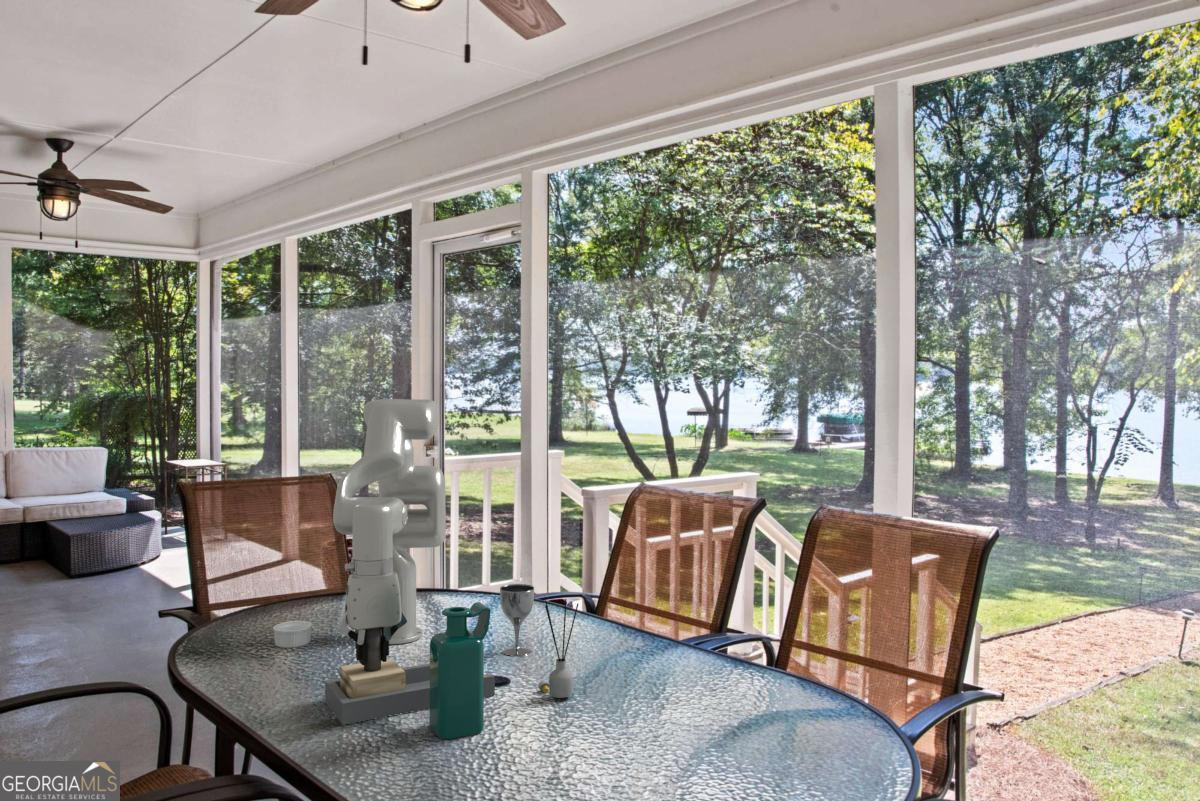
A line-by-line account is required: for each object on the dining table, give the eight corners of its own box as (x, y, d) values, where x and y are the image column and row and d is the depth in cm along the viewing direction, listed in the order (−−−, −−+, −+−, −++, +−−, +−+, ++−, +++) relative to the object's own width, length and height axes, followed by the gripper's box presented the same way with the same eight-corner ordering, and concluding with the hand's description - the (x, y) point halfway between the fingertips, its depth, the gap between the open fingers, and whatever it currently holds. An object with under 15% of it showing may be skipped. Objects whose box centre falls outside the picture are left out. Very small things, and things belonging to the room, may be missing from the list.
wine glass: (536, 647, 203) (536, 584, 203) (530, 657, 195) (530, 592, 195) (503, 646, 204) (503, 583, 203) (496, 656, 196) (496, 591, 196)
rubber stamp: (340, 696, 167) (340, 625, 166) (390, 687, 172) (390, 618, 172) (352, 713, 158) (352, 638, 158) (405, 703, 163) (405, 630, 163)
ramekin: (304, 649, 201) (304, 631, 201) (266, 648, 201) (266, 630, 201) (317, 638, 210) (317, 620, 210) (281, 637, 210) (281, 620, 210)
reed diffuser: (586, 698, 169) (586, 598, 169) (565, 709, 164) (565, 605, 163) (546, 687, 175) (546, 591, 175) (524, 697, 170) (524, 597, 169)
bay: (325, 701, 167) (325, 679, 167) (468, 675, 183) (468, 656, 182) (342, 725, 155) (342, 702, 155) (494, 696, 170) (494, 675, 170)
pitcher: (440, 742, 148) (440, 616, 148) (426, 725, 156) (427, 605, 155) (493, 732, 153) (494, 609, 152) (478, 716, 160) (478, 599, 160)
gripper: (333, 575, 157) (333, 674, 158) (420, 566, 166) (420, 660, 166) (324, 567, 164) (324, 663, 164) (408, 559, 172) (408, 650, 172)
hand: (372, 660), depth 165 cm, fingers closed on rubber stamp, 3 cm apart
